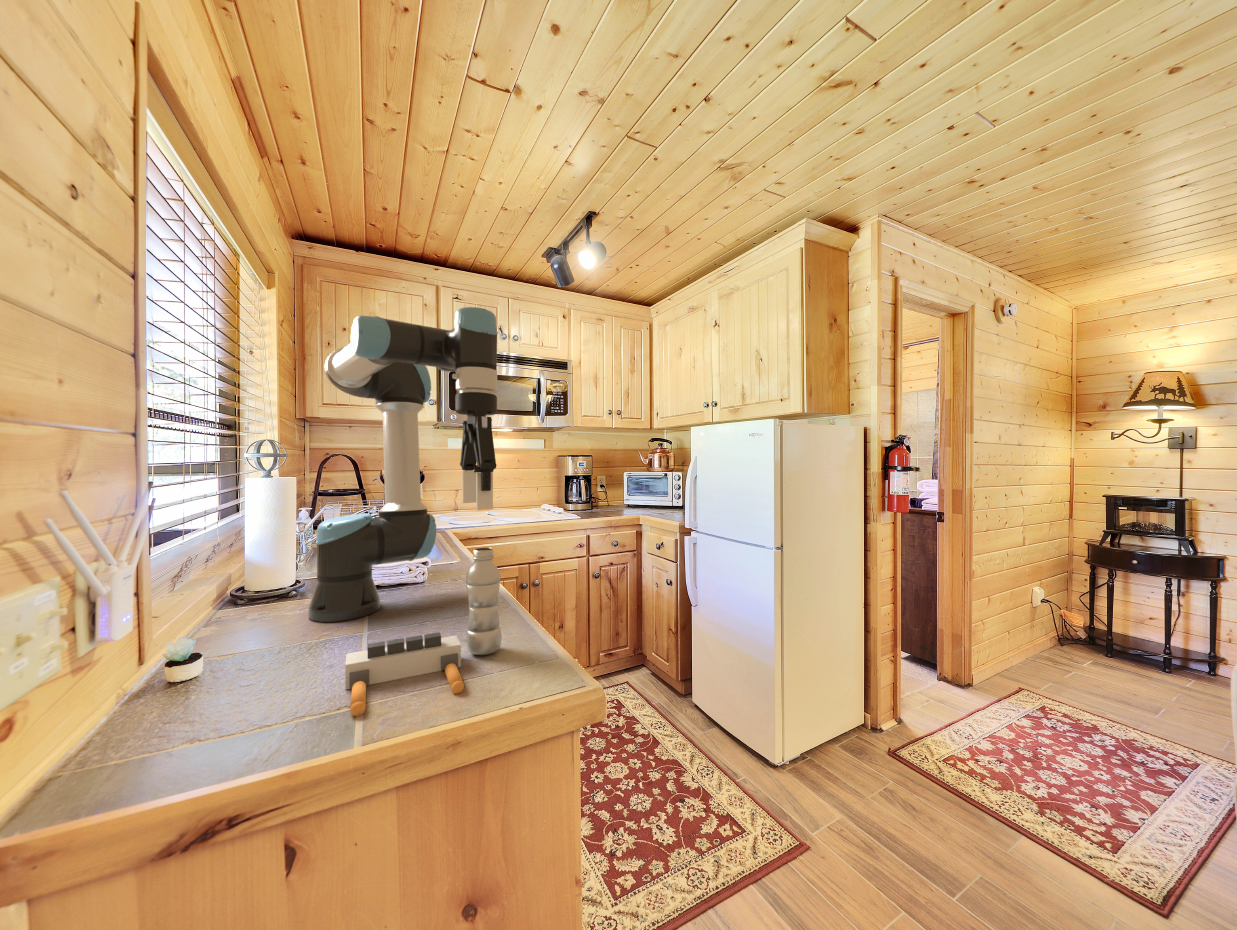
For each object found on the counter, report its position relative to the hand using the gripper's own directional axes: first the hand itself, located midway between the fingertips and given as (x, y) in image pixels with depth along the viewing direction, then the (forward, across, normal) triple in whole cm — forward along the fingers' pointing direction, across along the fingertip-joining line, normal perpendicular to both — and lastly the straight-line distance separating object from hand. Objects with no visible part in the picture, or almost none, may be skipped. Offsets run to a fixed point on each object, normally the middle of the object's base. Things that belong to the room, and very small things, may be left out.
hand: (476, 506), depth 89 cm
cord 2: (+29, +9, -6) cm, 31 cm away
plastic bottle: (+29, -1, +2) cm, 29 cm away
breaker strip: (+28, +1, -12) cm, 31 cm away
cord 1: (+29, +9, -20) cm, 36 cm away
